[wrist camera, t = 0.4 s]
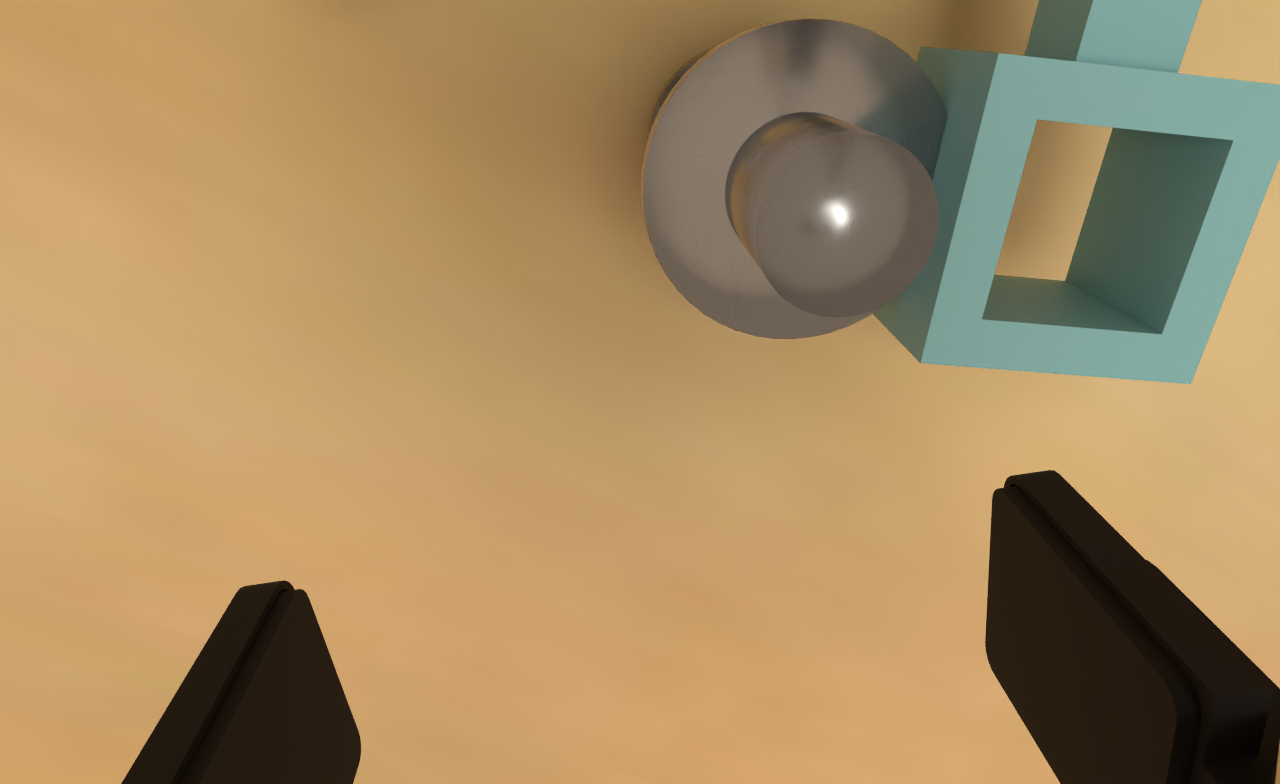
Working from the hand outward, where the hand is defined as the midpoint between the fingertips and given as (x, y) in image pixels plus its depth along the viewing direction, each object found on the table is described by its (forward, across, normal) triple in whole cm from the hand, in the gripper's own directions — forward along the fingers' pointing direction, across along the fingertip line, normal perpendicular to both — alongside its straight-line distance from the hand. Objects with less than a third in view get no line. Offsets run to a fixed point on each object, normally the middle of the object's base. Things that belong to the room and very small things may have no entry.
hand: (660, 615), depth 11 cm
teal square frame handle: (+21, -15, -3) cm, 26 cm away
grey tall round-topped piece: (+30, -6, -1) cm, 31 cm away
